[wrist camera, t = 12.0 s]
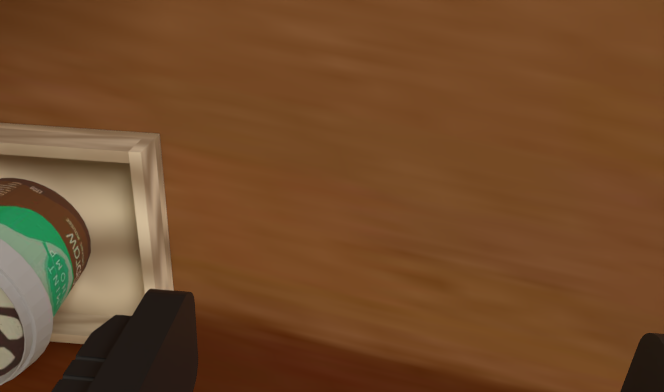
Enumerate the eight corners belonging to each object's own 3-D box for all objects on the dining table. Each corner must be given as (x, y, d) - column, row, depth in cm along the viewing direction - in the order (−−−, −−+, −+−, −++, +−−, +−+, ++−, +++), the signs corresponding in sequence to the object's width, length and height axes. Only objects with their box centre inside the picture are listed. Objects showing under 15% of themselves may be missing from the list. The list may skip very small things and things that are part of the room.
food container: (127, 298, 44) (64, 395, 35) (52, 303, 45) (-28, 400, 36) (76, 150, 39) (-13, 219, 30) (-7, 158, 40) (-119, 228, 31)
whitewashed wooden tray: (-68, 118, 40) (-106, 135, 36) (159, 133, 39) (140, 152, 36) (-17, 305, 47) (-45, 333, 43) (176, 321, 46) (161, 350, 43)
